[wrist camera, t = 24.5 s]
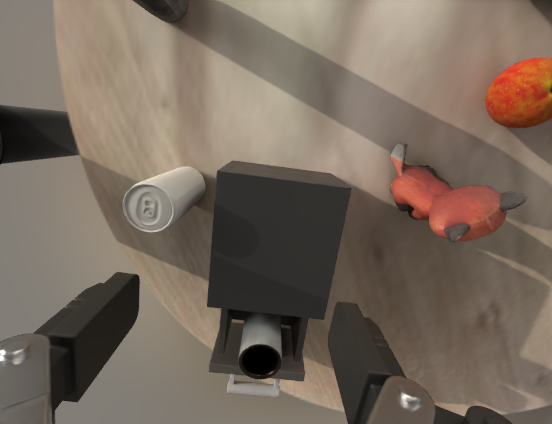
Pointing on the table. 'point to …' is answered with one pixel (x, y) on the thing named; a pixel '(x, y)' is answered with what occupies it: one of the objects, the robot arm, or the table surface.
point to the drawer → (229, 350)
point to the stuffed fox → (449, 201)
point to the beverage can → (163, 199)
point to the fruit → (522, 94)
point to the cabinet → (275, 239)
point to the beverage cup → (165, 8)
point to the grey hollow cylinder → (261, 345)
